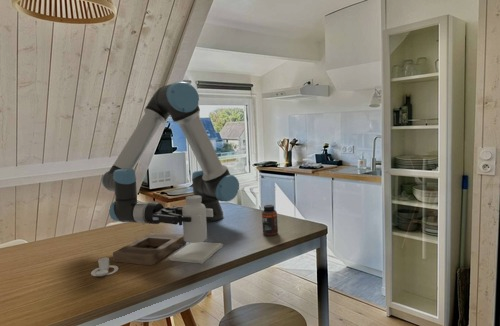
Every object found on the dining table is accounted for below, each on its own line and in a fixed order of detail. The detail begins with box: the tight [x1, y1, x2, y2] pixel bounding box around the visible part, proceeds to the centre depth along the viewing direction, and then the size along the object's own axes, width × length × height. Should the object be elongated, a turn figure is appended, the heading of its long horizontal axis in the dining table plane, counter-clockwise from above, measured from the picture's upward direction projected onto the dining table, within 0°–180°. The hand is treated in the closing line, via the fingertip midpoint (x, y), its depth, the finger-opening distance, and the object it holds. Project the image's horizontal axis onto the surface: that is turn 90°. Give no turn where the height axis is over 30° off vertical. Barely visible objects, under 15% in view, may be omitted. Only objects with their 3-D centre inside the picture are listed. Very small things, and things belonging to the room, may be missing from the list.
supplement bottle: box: [261, 204, 279, 237], centre depth 136 cm, size 6×6×11 cm
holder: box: [112, 231, 187, 266], centre depth 123 cm, size 22×15×3 cm
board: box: [169, 241, 224, 264], centre depth 120 cm, size 16×12×1 cm
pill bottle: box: [182, 195, 208, 244], centre depth 118 cm, size 8×8×15 cm
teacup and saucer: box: [90, 257, 119, 277], centre depth 108 cm, size 9×8×4 cm
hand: (206, 216), depth 116 cm, fingers closed on pill bottle, 8 cm apart
